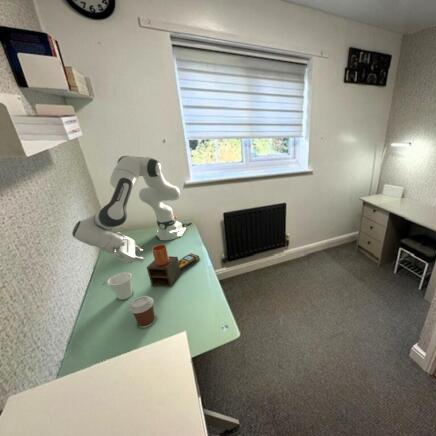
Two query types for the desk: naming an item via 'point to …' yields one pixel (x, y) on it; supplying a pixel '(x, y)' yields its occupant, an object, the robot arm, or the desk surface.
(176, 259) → the shelf
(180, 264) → the electronic device
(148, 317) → the coffee cup
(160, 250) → the tumbler
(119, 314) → the desk surface
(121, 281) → the cup
